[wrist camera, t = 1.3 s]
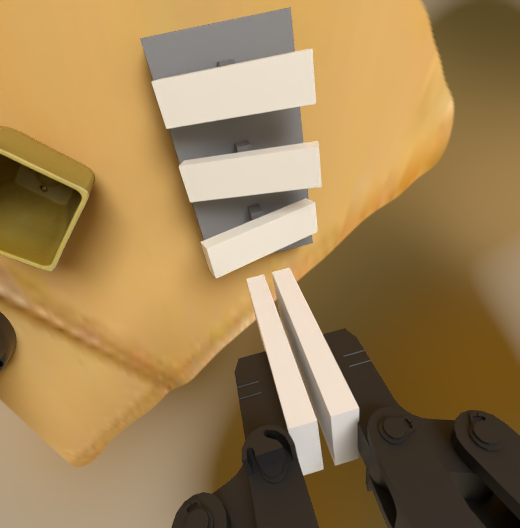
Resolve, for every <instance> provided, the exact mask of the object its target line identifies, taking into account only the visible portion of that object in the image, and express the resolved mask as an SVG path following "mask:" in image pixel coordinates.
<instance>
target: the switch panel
mask: <svg viewBox="0 0 520 528" xmlns="http://www.w3.org/2000/svg"><path fill="white" fill-rule="evenodd" d="M140 40H141V43H142V46H143V49H144V53H145V56H146V59H147V62H148V65H149V68H150V71H151V75H152V78H153V81H155V80H158V79H162V78H167V77H172V76H177V75H182V74H187V73H192V72H197V71H202V70H207V69H211V68H216V67H221V66H226V65H231V64H236V63H241V62H246V61H251V60H256V59H261V58H266V57H271V56H276V55H281V54H286V53H291V52H295V49H294V39H293V28H292V17H291V7H290V8H285V9H280V10H275V11H271V12H266V13H261V14H256V15H251V16H246V17H242V18H237V19H232V20H227V21H222V22H217V23H212V24H208V25H203V26H198V27H193V28H188V29H183V30H179V31H174V32H169V33H164V34H159V35H154V36H149V37H145V38H140ZM169 131H170V134H171V137H172V141H173V144H174V147H175V150H176V153H177V156H178V160H179V163H180V164H181V163H182V162H183V161H184V160H191V159H197V158H204V157H211V156H218V155H225V154H231V153H238V152H245V151H252V150H259V149H266V148H272V147H279V146H286V145H293V144H300V143H303V135H302V124H301V113H300V106H299V107H293V108H287V109H282V110H276V111H270V112H264V113H258V114H252V115H246V116H240V117H234V118H228V119H222V120H216V121H211V122H205V123H199V124H193V125H187V126H181V127H175V128H169ZM305 198H307V199H308V188H307V189H298V190H290V191H282V192H273V193H265V194H256V195H248V196H240V197H231V198H223V199H214V200H206V201H198V202H192V204H193V207H194V210H195V213H196V216H197V219H198V222H199V226H200V229H201V232H202V235H203V238H204V240H206V239H209V238H211V237H213V236H216V235H218V234H221V233H223V232H226V231H228V230H230V229H233V228H235V227H238V226H240V225H242V224H245V223H247V222H250V221H252V220H254V219H257V218H259V217H262V216H264V215H266V214H269V213H271V212H274V211H276V210H278V209H281V208H283V207H286V206H288V205H291V204H293V203H295V202H298V201H300V200H303V199H305ZM311 243H313V241H312V235H309V236H307V237H305V238H303V239H301V240H299V241H297V242H294V243H292V244H290V245H288V246H286V247H284V248H281V249H279V250H277V251H275V252H273V253H276V252H280V251H284V250H288V249H292V248H295V247H299V246H303V245H307V244H311ZM271 254H272V253H271Z"/></svg>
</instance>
